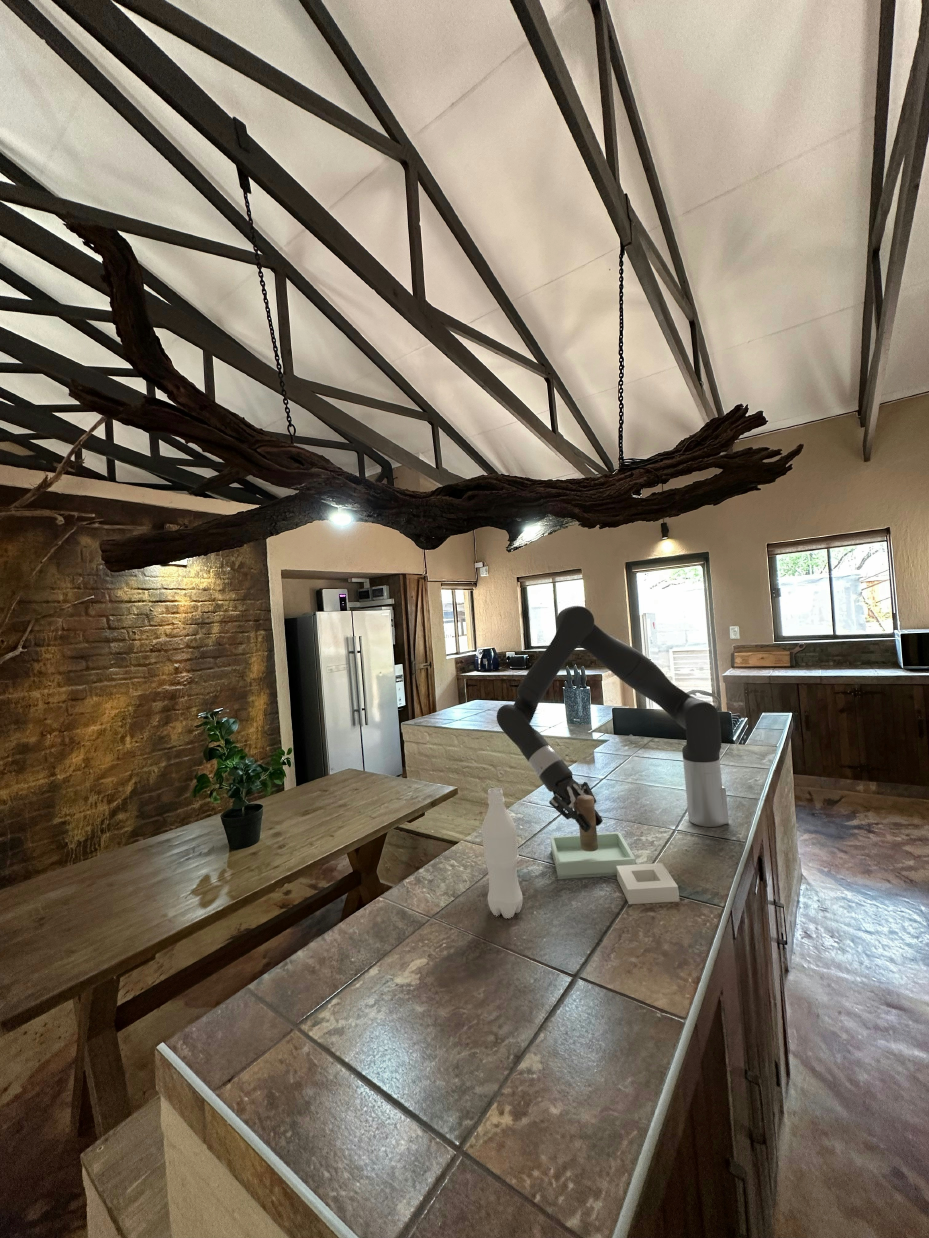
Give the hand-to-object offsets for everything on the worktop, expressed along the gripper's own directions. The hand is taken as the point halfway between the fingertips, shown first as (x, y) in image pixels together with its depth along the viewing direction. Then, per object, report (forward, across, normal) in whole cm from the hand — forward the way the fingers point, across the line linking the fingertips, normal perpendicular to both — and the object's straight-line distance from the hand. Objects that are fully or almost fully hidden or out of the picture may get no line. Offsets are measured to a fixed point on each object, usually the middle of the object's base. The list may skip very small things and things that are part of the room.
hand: (594, 826), depth 121 cm
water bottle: (+4, -28, +9) cm, 30 cm away
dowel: (+3, 0, +5) cm, 6 cm away
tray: (+5, 0, +8) cm, 9 cm away
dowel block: (+16, -4, -4) cm, 17 cm away
